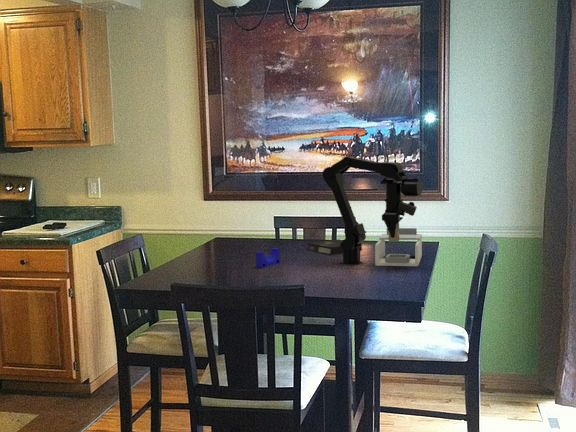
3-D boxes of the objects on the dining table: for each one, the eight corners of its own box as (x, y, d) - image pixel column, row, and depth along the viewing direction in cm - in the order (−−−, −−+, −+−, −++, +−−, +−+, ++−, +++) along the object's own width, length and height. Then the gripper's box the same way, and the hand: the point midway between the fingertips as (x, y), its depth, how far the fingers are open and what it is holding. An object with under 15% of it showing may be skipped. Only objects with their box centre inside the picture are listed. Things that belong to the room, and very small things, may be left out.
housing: (417, 266, 266) (417, 245, 265) (375, 265, 270) (375, 245, 269) (421, 255, 289) (421, 236, 288) (382, 255, 293) (382, 236, 292)
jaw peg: (394, 241, 265) (394, 224, 264) (386, 240, 268) (386, 223, 267) (401, 240, 268) (401, 223, 267) (393, 239, 271) (393, 222, 270)
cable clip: (270, 262, 284) (270, 247, 284) (279, 263, 282) (279, 248, 281) (252, 267, 274) (252, 251, 274) (262, 268, 272) (261, 252, 271)
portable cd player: (307, 252, 309) (307, 243, 308) (338, 248, 318) (338, 239, 318) (330, 257, 295) (329, 247, 295) (361, 252, 304) (361, 243, 304)
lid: (419, 239, 277) (419, 231, 277) (379, 239, 281) (378, 231, 281) (421, 236, 288) (421, 228, 287) (382, 235, 292) (382, 228, 291)
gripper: (412, 198, 255) (412, 240, 257) (417, 193, 273) (417, 234, 274) (381, 198, 258) (381, 240, 260) (388, 193, 276) (389, 233, 278)
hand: (393, 236), depth 268 cm, fingers closed on jaw peg, 4 cm apart
